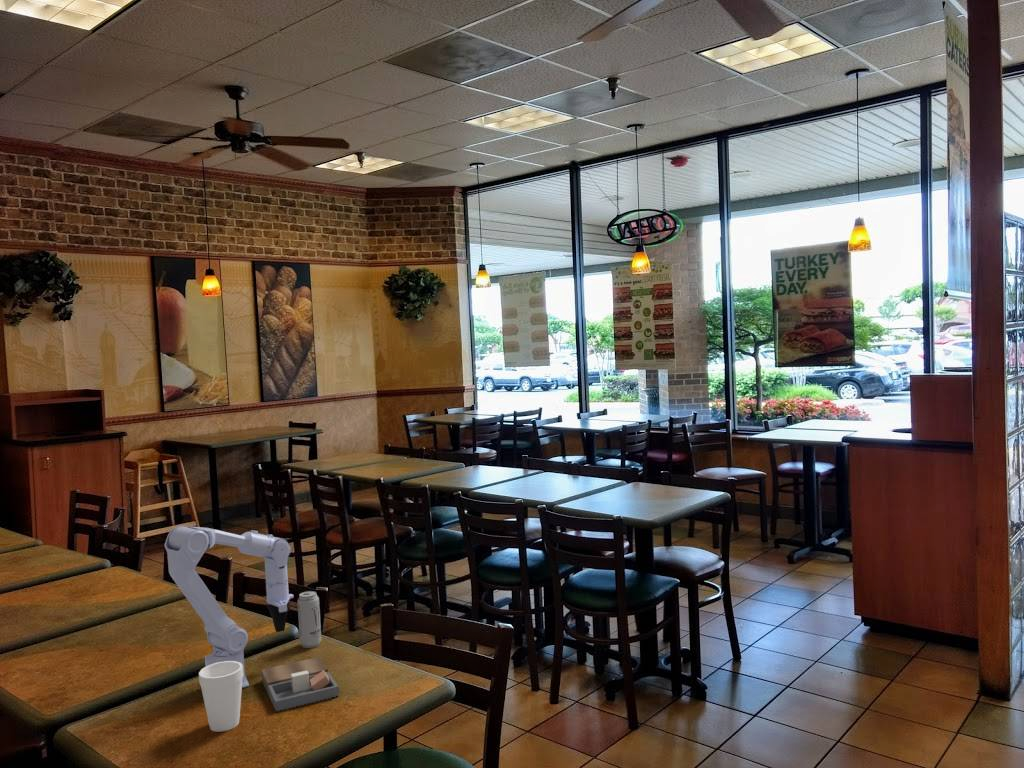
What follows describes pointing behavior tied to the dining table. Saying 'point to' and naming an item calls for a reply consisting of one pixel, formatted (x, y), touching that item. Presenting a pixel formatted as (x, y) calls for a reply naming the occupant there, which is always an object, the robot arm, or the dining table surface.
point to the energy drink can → (309, 619)
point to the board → (291, 671)
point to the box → (300, 694)
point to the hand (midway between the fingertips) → (279, 630)
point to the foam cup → (222, 694)
